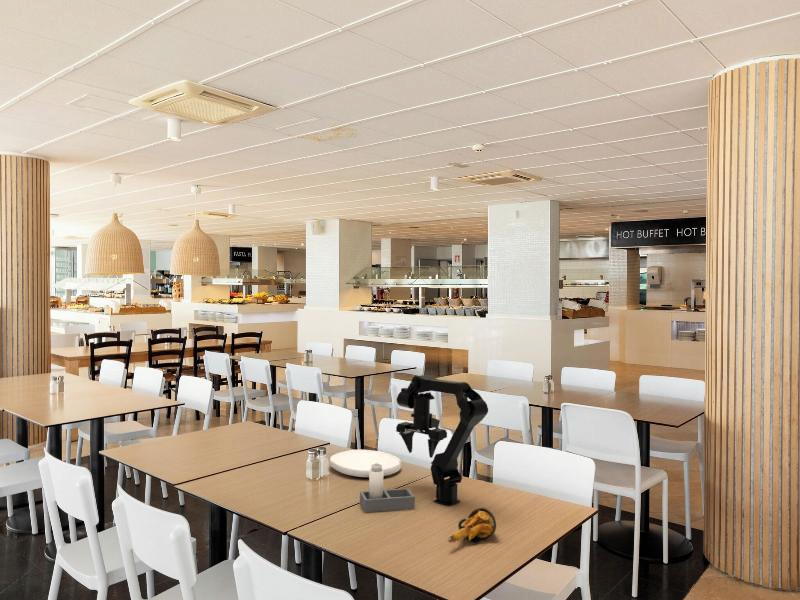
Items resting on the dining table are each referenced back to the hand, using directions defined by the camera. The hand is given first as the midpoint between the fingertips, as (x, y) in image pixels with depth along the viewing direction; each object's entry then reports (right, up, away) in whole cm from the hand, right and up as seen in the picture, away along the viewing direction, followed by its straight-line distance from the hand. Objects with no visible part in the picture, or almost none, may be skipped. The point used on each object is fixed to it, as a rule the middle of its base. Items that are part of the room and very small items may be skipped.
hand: (420, 455), depth 214 cm
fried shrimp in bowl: (+13, -14, -42) cm, 46 cm away
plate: (-21, -13, +25) cm, 35 cm away
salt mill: (-15, -12, -16) cm, 25 cm away
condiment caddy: (-12, -13, -15) cm, 23 cm away
